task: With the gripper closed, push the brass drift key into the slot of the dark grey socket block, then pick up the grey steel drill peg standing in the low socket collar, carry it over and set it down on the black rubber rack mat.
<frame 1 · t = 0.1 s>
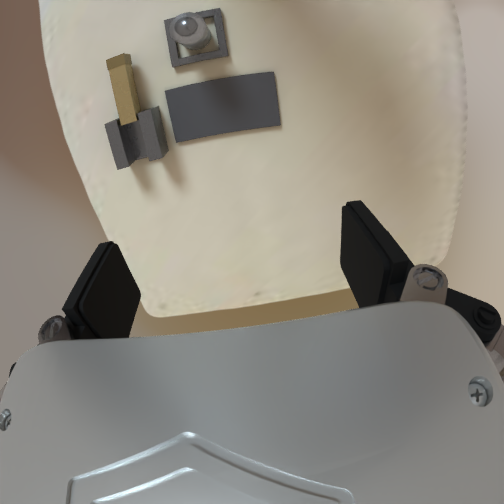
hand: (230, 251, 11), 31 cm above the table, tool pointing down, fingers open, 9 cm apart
socket block: (141, 134, 36), on the table
socket collar: (196, 37, 28), on the table
drift key: (124, 88, 30), point 2 cm above the table, slide at 0.0 cm
drill peg: (196, 37, 29), resting in socket collar
rack mat: (223, 105, 35), on the table
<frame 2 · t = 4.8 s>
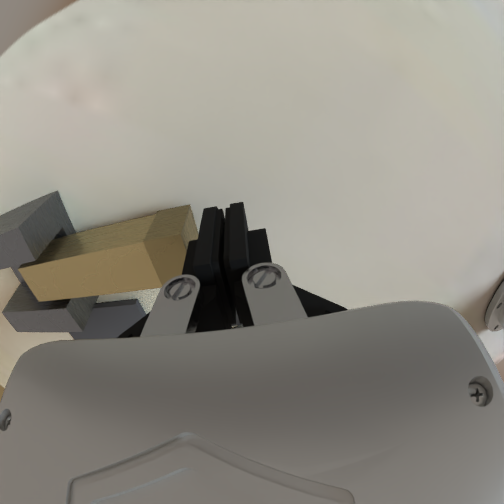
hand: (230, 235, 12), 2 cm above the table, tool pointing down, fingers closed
socket block: (43, 251, 15), on the table
drift key: (99, 260, 12), point 3 cm above the table, slide at 1.3 cm, touching gripper
rack mat: (134, 362, 22), on the table
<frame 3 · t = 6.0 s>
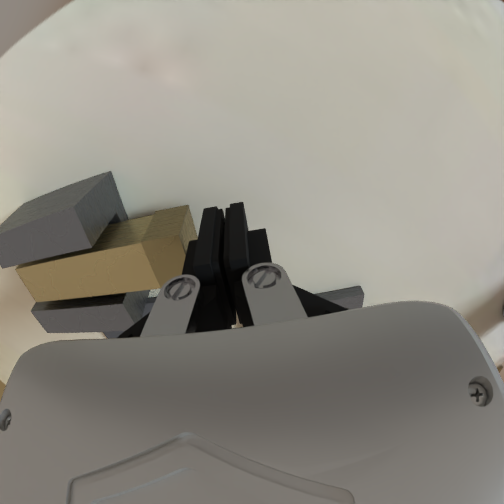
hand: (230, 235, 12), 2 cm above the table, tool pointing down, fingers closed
socket block: (83, 240, 14), on the table
socket collar: (305, 331, 20), on the table
drift key: (97, 260, 12), point 3 cm above the table, slide at 5.2 cm, touching gripper
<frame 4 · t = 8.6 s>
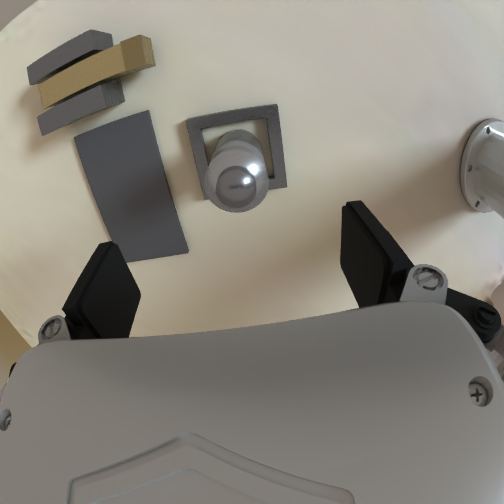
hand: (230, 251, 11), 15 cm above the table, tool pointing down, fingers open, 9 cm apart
socket block: (85, 80, 18), on the table
socket collar: (238, 151, 24), on the table
drift key: (92, 72, 16), point 2 cm above the table, slide at 5.2 cm
drill peg: (238, 151, 24), resting in socket collar
rack mat: (131, 194, 25), on the table
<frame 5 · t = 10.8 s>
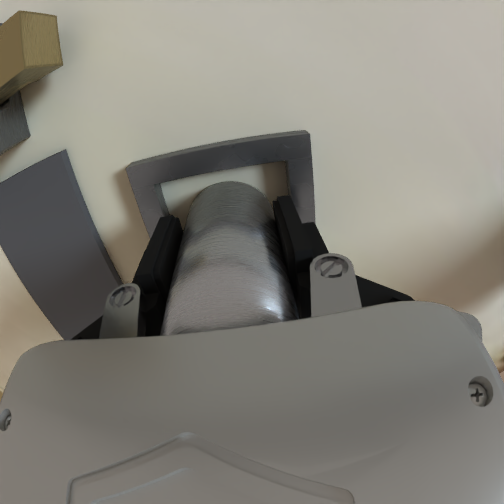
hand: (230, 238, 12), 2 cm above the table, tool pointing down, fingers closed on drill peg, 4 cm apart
socket collar: (231, 220, 13), on the table
drill peg: (230, 221, 13), resting in socket collar, touching gripper
rack mat: (67, 281, 15), on the table
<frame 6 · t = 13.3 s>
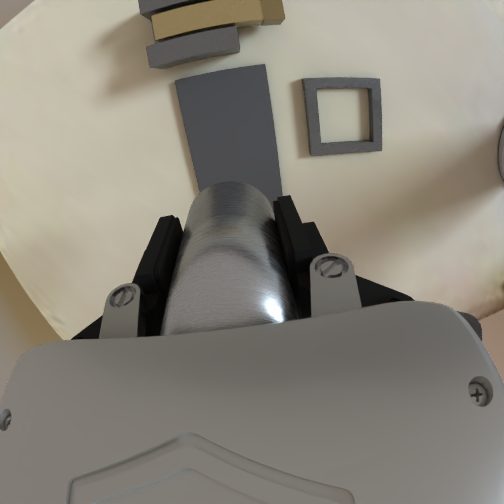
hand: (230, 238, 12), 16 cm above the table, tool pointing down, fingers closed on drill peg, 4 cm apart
socket block: (194, 26, 18), on the table
socket collar: (344, 114, 23), on the table
drift key: (217, 15, 16), point 2 cm above the table, slide at 5.2 cm
drill peg: (230, 221, 13), point 15 cm above the table, touching gripper
rack mat: (233, 146, 25), on the table
when the fingers open (3 cm above the table, at t = 15.9 s): drill peg stays where it is, resting on rack mat.
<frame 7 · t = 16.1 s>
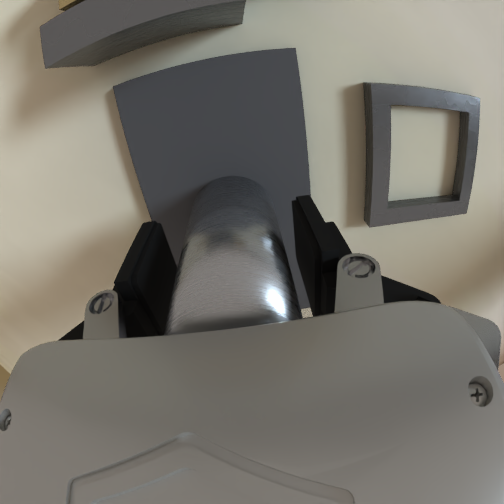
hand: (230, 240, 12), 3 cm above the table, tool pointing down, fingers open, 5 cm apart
socket collar: (424, 153, 13), on the table
drill peg: (233, 214, 14), point 1 cm above the table, touching rack mat
rack mat: (230, 209, 14), on the table
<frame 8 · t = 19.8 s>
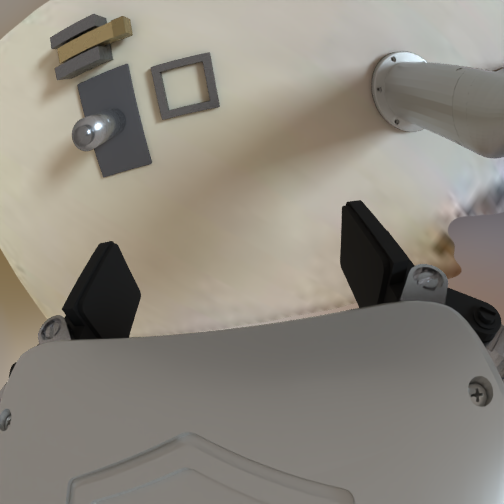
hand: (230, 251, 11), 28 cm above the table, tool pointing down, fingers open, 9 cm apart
socket block: (87, 48, 25), on the table
socket collar: (185, 85, 30), on the table
drift key: (93, 40, 23), point 2 cm above the table, slide at 5.2 cm
drill peg: (112, 122, 31), point 1 cm above the table, touching rack mat
rack mat: (113, 121, 32), on the table
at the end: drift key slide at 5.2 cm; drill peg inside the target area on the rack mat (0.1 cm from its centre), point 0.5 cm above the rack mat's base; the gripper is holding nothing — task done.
